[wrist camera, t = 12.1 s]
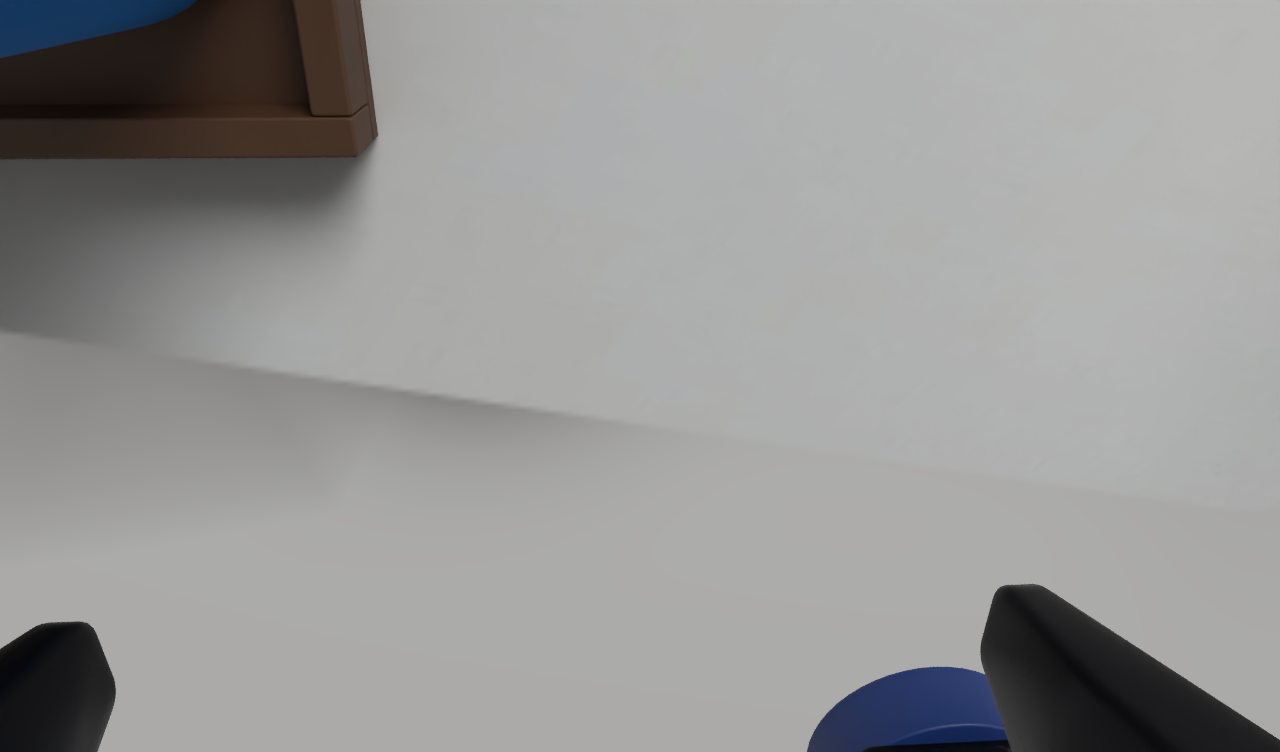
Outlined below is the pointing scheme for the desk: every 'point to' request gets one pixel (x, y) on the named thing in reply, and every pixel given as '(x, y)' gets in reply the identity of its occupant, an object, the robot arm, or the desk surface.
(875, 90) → the desk surface
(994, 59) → the desk surface
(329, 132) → the walnut tray
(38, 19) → the beverage can
